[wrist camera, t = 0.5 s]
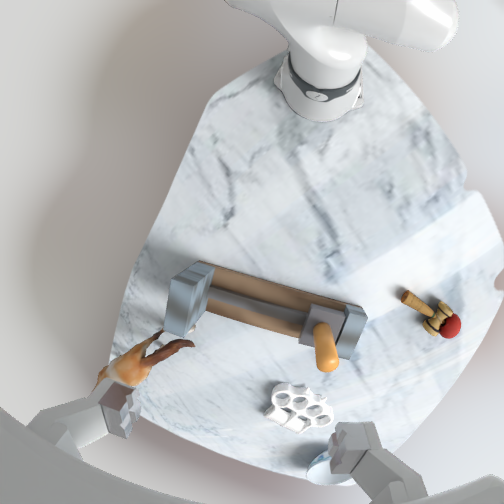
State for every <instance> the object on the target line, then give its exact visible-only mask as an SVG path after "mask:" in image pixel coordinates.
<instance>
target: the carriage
mask: <svg viewBox="0 0 504 504" xmlns="http://www.w3.org/2000/svg"><path fill="white" fill-rule="evenodd" d="M345 317H346V316H345V314H344V312H342V311H338V310H334V309H330V308H327V307H323V306H319V305H316V304H312V303H311V305H310V308H309V311H308V314H307V316H306V319H305V322H304V325H303V327H302V330H301V333H300V335H299V343H300V344H303V345H307V346H311V347H315V354H316V363H317V368H318V369H319V370H320V371H322V372H331V371H333V370H335V369H336V368H337V367H338V365H339V359H338V354H337V350H336V346H335V342H336V339H337V337H338V334H339V332H340V330H341V327H342V325H343V322H344V320H345Z"/></svg>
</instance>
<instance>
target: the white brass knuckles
mask: <svg viewBox="0 0 504 504" xmlns="http://www.w3.org/2000/svg"><path fill="white" fill-rule="evenodd" d="M278 393H287V394H288V395H289V396H288V397H287V398H285V399H280V398H277V397H276V396H275V395H276V394H278ZM296 397H305V398H306V399H305V400H304V401H303V402H294V401H293V399H294V398H296ZM326 399H327V397H323V398H322V397H321V396H320V395H316V394H314V393H312V392H311V391H310V389H309V387H308V388H303V387H300V388H298V387H294V386H292V385H290V384H289V383H280V384H278V385H276V386H275V387H274V388H273V390H272V396H271V401H272V403H273V405H271V406H270V407H269V408H268V409H267V410H266V411H265V413H264V415H263V416H264V417H265V418H268V419H270V420H272V421H274V422H276V423H278V424H280V425H281V426H284V427H286V428H288V429H290V430H292V431H294V432H296V433H297V434H301V433H303V432H304V431H305V430H307V429H308V428H309V427H314V426H315V427H324V426H327V425H329V424H330V423H331V422H332V421H333V417H334V416H333V409H332V407H330V406H328V405H326V404H325V400H326ZM312 405H319V407H317V408H315V409H307V408H308V407H310V406H312ZM285 407H287V408H289V409H291V410H292V411H291V412H290V413H288V412H286V411H285V410H283V409H281V408H285ZM299 415H303V416H305V417H307V418H309V419H306V420H305V421H304V420H302V419H300V418H298V416H299ZM320 415H327V416H326V417H324V418H321V419H317V418H316V417H318V416H320Z"/></svg>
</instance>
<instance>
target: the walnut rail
mask: <svg viewBox="0 0 504 504" xmlns="http://www.w3.org/2000/svg"><path fill="white" fill-rule="evenodd" d="M311 303H312V304H316V305H319V306H323V307H327V308H330V309H334V310H338V311H342V312H344V314H345V316H346V317H345V320H344V322H343V325H342V327H341V330H340V332H339V334H338V337H337V339H336V342H335V346H336V350H337V354H338V358H343V359H347V360H349V359H350V357H351V355H352V353H353V351H354V349H355V346H356V344H357V342H358V340H359V338H360V335H361V333H362V331H363V328H364V326H365V324H366V321H367V319H368V317H367V315H366V313H365V312H364V310H363V308H362V307H359V306H356V305H352V304H348V303H345V302H341V301H337V300H334V299H330V298H326V297H323V296H319V295H315V294H312V293H308V292H305V291H301V290H298V289H294V288H291V287H287V286H284V285H280V284H277V283H273V282H270V281H266V280H263V279H260V278H256V277H253V276H249V275H246V274H243V273H239V272H236V271H233V270H229V269H226V268H223V267H219V266H216V265H213V264H209V263H206V262H203V261H200V260H199V261H198V262H196V263H195V264H193V265H192V266H190V267H189V268H187V269H186V270H184V271H183V272H181V273H180V274H178V275H177V276H175V277H174V278H172V279H171V284H170V289H169V295H168V302H167V308H166V315H165V321H164V328H163V330H164V331H167V332H169V333H172V334H174V335H177V336H180V337H183V338H184V337H185V336H186V334H187V333H191V332H193V331H194V330H195V327H196V325H195V323H196V322H197V321H198V319H199V318H200V317H201V316H202V314H203V313H204V312H205V311H208V312H211V313H214V314H218V315H221V316H224V317H227V318H230V319H233V320H237V321H240V322H243V323H246V324H250V325H253V326H256V327H260V328H263V329H267V330H270V331H274V332H277V333H281V334H285V335H288V336H292V337H296V338H299V335H300V333H301V330H302V327H303V325H304V322H305V319H306V316H307V314H308V311H309V308H310V305H311Z"/></svg>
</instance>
